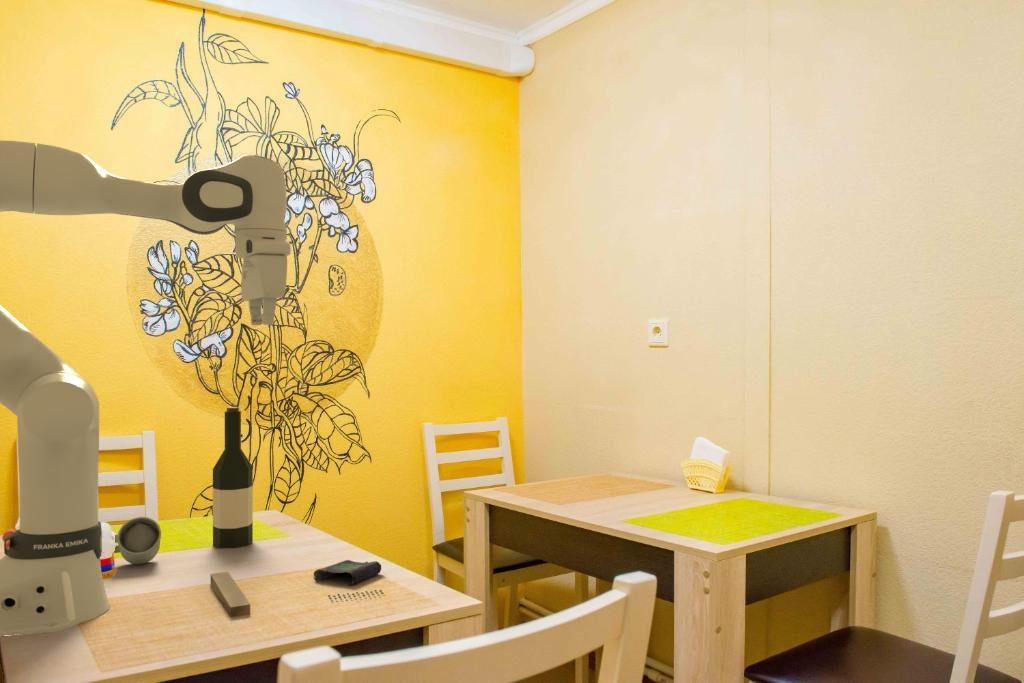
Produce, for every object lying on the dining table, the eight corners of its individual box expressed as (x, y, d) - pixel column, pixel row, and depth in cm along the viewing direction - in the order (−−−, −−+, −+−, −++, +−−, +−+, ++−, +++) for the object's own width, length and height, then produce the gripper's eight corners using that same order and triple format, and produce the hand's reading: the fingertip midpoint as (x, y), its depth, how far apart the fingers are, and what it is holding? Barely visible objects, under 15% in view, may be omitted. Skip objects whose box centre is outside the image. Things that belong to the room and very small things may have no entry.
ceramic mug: (150, 571, 159) (167, 535, 164) (150, 559, 153) (167, 522, 158) (96, 555, 158) (115, 519, 162) (94, 542, 151) (113, 505, 156)
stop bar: (230, 626, 125) (230, 607, 125) (210, 590, 143) (210, 574, 143) (250, 623, 127) (250, 604, 127) (227, 588, 144) (227, 571, 144)
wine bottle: (211, 540, 177) (211, 406, 177) (250, 536, 181) (250, 405, 180) (214, 549, 170) (214, 409, 169) (255, 545, 173) (254, 408, 173)
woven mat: (383, 598, 140) (383, 587, 140) (397, 619, 130) (397, 606, 130) (323, 605, 136) (323, 594, 136) (332, 627, 126) (332, 614, 126)
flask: (312, 568, 145) (348, 557, 155) (312, 585, 145) (349, 572, 155) (353, 571, 141) (388, 559, 151) (353, 588, 141) (388, 575, 151)
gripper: (232, 252, 150) (233, 325, 150) (255, 241, 132) (255, 324, 132) (266, 253, 153) (267, 325, 153) (293, 243, 135) (293, 324, 135)
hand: (262, 325), depth 143 cm, fingers open, 8 cm apart
